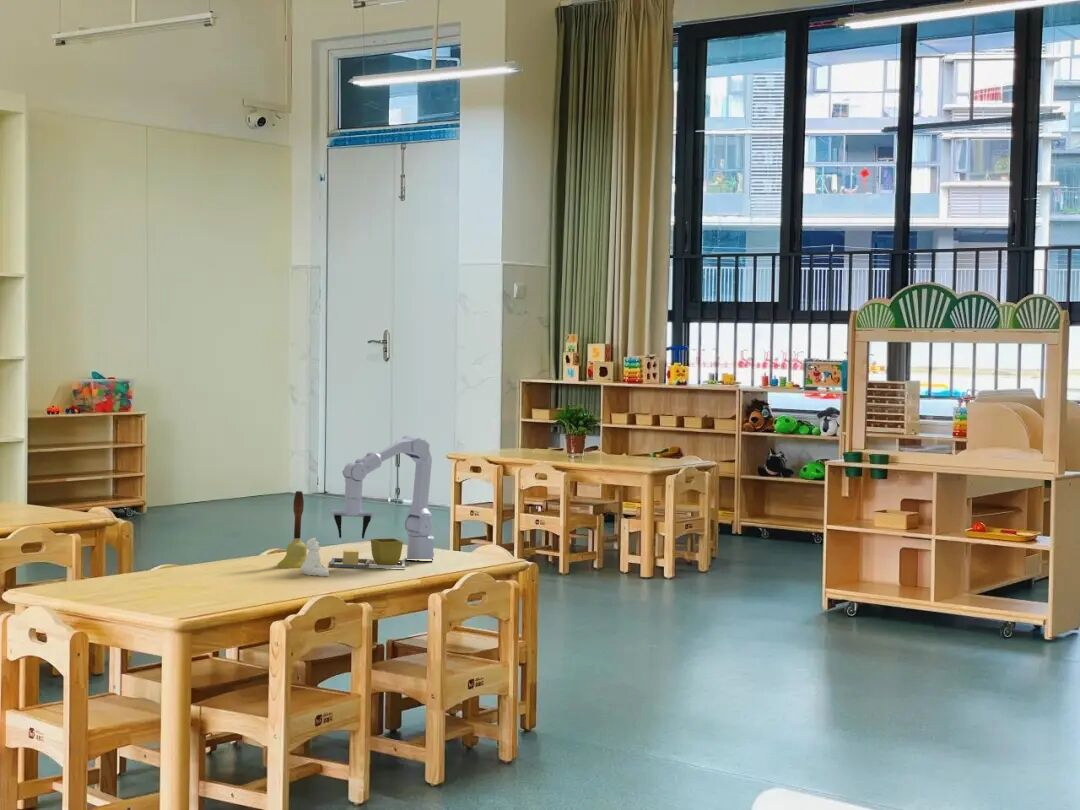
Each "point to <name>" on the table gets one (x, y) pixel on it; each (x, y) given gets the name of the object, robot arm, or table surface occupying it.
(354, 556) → the ochre block
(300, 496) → the handbell
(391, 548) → the flower pot
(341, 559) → the sorting board
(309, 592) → the table surface
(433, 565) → the table surface
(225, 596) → the table surface
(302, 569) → the white creature statuette
